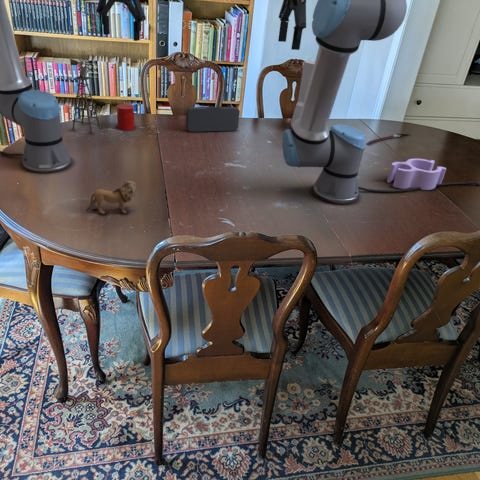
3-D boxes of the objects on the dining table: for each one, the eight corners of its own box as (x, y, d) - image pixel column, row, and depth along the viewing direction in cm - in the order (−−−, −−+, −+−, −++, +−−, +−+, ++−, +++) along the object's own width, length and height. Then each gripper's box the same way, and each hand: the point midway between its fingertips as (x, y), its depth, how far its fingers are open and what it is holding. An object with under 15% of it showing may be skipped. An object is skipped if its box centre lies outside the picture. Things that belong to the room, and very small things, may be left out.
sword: (406, 132, 223) (406, 130, 222) (411, 134, 221) (412, 132, 220) (362, 144, 207) (363, 141, 206) (368, 146, 205) (368, 143, 204)
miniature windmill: (91, 133, 186) (84, 54, 169) (71, 130, 187) (62, 51, 170) (101, 126, 193) (95, 50, 177) (82, 123, 194) (75, 47, 178)
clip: (400, 192, 166) (405, 174, 163) (380, 176, 176) (385, 159, 172) (445, 188, 173) (451, 171, 169) (424, 174, 182) (429, 157, 179)
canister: (129, 123, 200) (128, 102, 195) (137, 128, 195) (136, 107, 190) (114, 126, 196) (113, 104, 191) (122, 131, 191) (121, 109, 187)
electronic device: (303, 134, 208) (315, 64, 192) (289, 129, 211) (299, 60, 195) (315, 127, 218) (327, 60, 201) (300, 123, 221) (312, 56, 204)
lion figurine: (135, 203, 142) (134, 176, 137) (138, 212, 138) (137, 185, 133) (85, 208, 137) (82, 180, 132) (86, 217, 133) (83, 189, 128)
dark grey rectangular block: (236, 128, 206) (238, 106, 201) (238, 130, 204) (240, 108, 199) (185, 129, 199) (186, 106, 194) (186, 132, 197) (187, 108, 192)
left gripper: (155, -23, 164) (155, 41, 175) (97, -32, 171) (100, 31, 183) (143, -23, 158) (144, 44, 169) (83, -32, 165) (88, 33, 177)
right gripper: (275, -28, 162) (267, 37, 173) (301, -21, 142) (290, 52, 153) (295, -26, 164) (286, 38, 175) (323, -19, 144) (311, 53, 155)
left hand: (121, 37), depth 176 cm, fingers open, 13 cm apart
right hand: (288, 45), depth 164 cm, fingers open, 13 cm apart
